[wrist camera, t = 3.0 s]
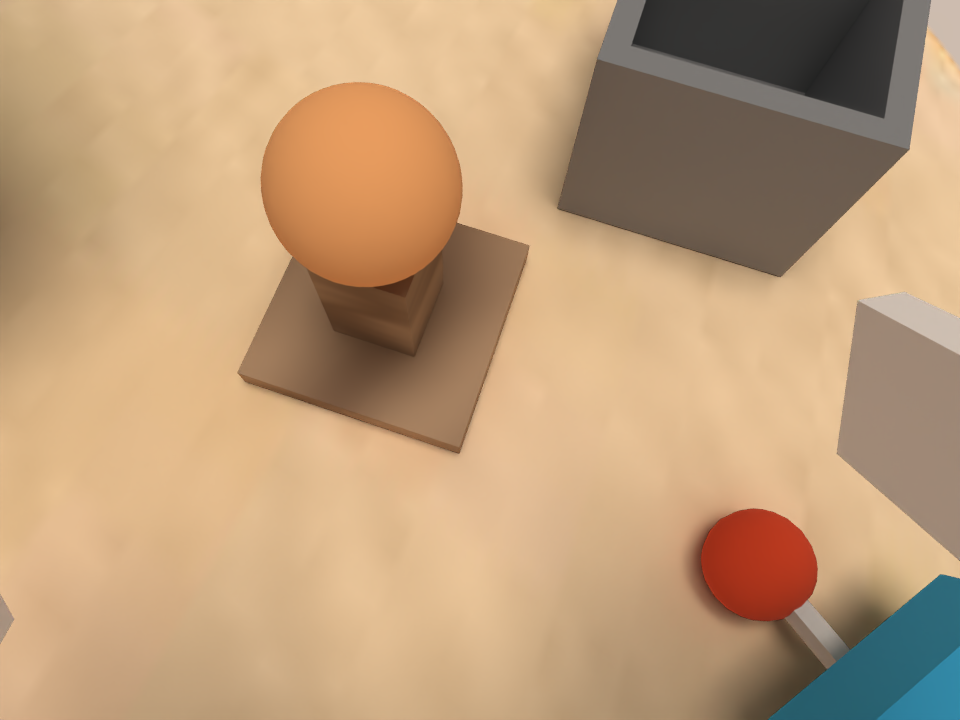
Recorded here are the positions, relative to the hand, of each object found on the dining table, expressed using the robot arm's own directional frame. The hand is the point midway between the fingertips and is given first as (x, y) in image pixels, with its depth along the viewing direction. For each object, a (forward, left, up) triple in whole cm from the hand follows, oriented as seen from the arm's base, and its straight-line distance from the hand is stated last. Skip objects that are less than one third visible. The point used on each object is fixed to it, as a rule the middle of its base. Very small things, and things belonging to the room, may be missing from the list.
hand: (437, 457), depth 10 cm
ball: (-5, +7, -5) cm, 10 cm away
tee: (-5, +7, -14) cm, 16 cm away
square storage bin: (+4, +18, -14) cm, 23 cm away
